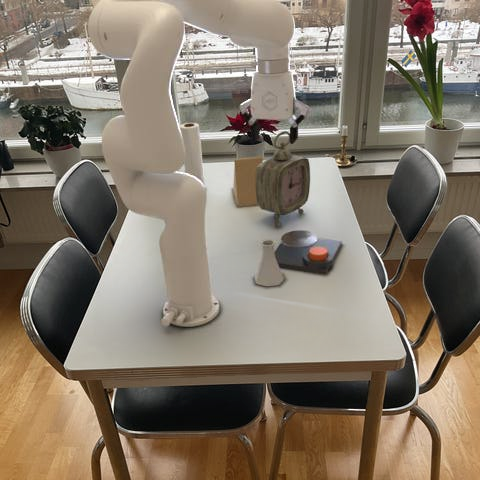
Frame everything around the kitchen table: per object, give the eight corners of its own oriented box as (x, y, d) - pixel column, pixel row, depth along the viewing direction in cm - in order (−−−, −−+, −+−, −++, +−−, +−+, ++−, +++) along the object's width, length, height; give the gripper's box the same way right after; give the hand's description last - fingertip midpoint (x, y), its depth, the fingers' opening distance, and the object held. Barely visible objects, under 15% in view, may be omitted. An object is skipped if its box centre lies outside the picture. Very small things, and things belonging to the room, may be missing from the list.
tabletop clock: (278, 231, 150) (277, 141, 136) (254, 223, 155) (250, 136, 141) (309, 213, 159) (311, 127, 144) (285, 206, 164) (284, 122, 149)
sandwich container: (257, 186, 179) (256, 141, 170) (264, 204, 166) (263, 156, 157) (232, 188, 178) (229, 143, 169) (237, 207, 166) (234, 159, 157)
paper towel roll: (194, 185, 182) (188, 121, 170) (208, 188, 179) (202, 123, 167) (181, 192, 178) (172, 127, 165) (195, 196, 175) (187, 129, 162)
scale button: (324, 262, 129) (324, 256, 128) (307, 260, 130) (307, 253, 129) (329, 254, 132) (329, 247, 131) (312, 251, 134) (312, 245, 133)
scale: (328, 275, 129) (329, 264, 127) (267, 266, 134) (267, 256, 132) (344, 245, 141) (344, 235, 139) (287, 238, 146) (287, 228, 144)
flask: (281, 288, 125) (281, 250, 120) (251, 286, 127) (249, 248, 121) (285, 272, 131) (285, 235, 125) (256, 271, 133) (255, 234, 127)
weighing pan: (311, 250, 134) (311, 248, 133) (276, 245, 137) (276, 244, 137) (321, 234, 141) (321, 232, 140) (287, 229, 144) (287, 228, 144)
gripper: (231, 69, 123) (236, 144, 133) (305, 70, 117) (304, 148, 127) (243, 62, 128) (246, 135, 138) (313, 63, 123) (312, 138, 133)
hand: (274, 141), depth 133 cm, fingers open, 9 cm apart
